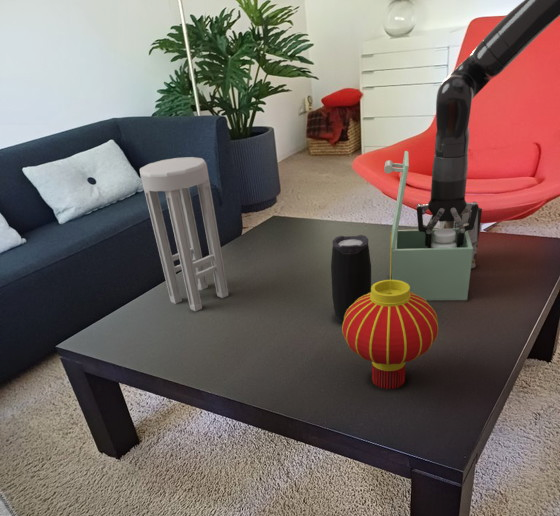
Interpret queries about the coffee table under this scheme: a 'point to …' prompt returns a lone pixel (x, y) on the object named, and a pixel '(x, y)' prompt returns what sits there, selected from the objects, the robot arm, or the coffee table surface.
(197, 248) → the stool
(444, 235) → the pill bottle
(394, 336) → the lantern
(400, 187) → the lid
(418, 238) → the chest
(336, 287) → the portable speaker
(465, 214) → the coffee box
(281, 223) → the coffee table surface
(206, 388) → the coffee table surface
